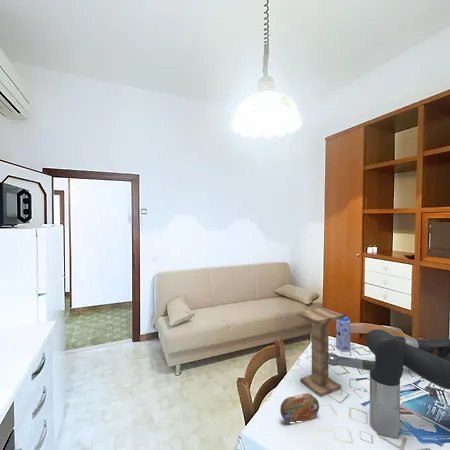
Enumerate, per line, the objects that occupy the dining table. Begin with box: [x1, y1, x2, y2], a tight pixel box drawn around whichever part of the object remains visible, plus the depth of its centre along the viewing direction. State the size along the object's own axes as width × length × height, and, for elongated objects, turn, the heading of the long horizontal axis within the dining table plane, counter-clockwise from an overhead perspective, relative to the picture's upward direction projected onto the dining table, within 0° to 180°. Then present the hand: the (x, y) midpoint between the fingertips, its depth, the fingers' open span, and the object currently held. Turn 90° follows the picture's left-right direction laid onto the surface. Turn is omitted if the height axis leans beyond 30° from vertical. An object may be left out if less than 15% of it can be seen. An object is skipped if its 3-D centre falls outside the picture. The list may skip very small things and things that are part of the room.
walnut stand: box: [296, 307, 344, 398], centre depth 120 cm, size 16×12×32 cm
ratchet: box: [329, 351, 375, 371], centre depth 137 cm, size 24×6×5 cm, turn 71°
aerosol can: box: [335, 313, 352, 353], centre depth 155 cm, size 8×8×20 cm
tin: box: [279, 392, 320, 425], centre depth 99 cm, size 15×3×8 cm, turn 106°
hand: (367, 340), depth 135 cm, fingers open, 8 cm apart
